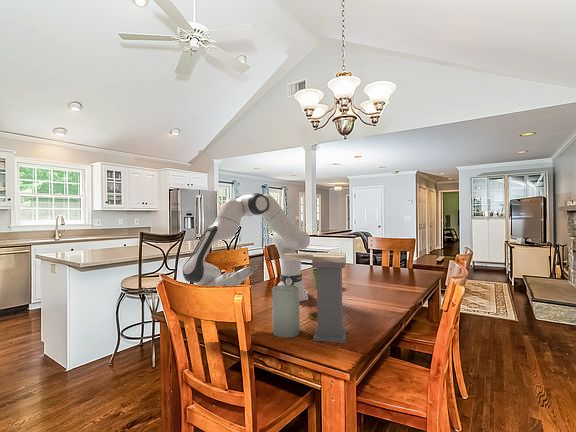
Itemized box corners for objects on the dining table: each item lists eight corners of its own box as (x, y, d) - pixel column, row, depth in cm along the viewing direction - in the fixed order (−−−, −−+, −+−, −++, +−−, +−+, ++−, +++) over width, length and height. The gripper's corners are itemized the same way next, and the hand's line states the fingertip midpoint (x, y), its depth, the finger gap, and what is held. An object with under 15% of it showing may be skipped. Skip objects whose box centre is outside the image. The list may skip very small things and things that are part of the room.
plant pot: (309, 285, 204) (309, 268, 204) (327, 284, 207) (327, 267, 206) (314, 290, 193) (314, 272, 193) (333, 289, 195) (332, 271, 195)
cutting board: (288, 256, 133) (288, 251, 133) (345, 257, 128) (345, 252, 127) (281, 261, 121) (281, 256, 121) (344, 262, 116) (344, 257, 116)
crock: (276, 326, 134) (276, 284, 134) (302, 328, 132) (301, 285, 132) (269, 336, 124) (268, 291, 123) (296, 338, 121) (296, 292, 121)
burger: (306, 320, 141) (306, 310, 141) (310, 313, 150) (310, 304, 150) (328, 322, 139) (328, 311, 139) (331, 315, 148) (331, 305, 148)
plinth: (317, 328, 131) (316, 257, 130) (346, 330, 128) (345, 257, 128) (313, 340, 119) (312, 262, 119) (345, 343, 116) (344, 262, 116)
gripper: (211, 283, 124) (239, 266, 121) (232, 272, 143) (257, 258, 141) (219, 297, 123) (247, 280, 120) (239, 284, 143) (264, 270, 140)
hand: (253, 268), depth 130 cm, fingers open, 8 cm apart
